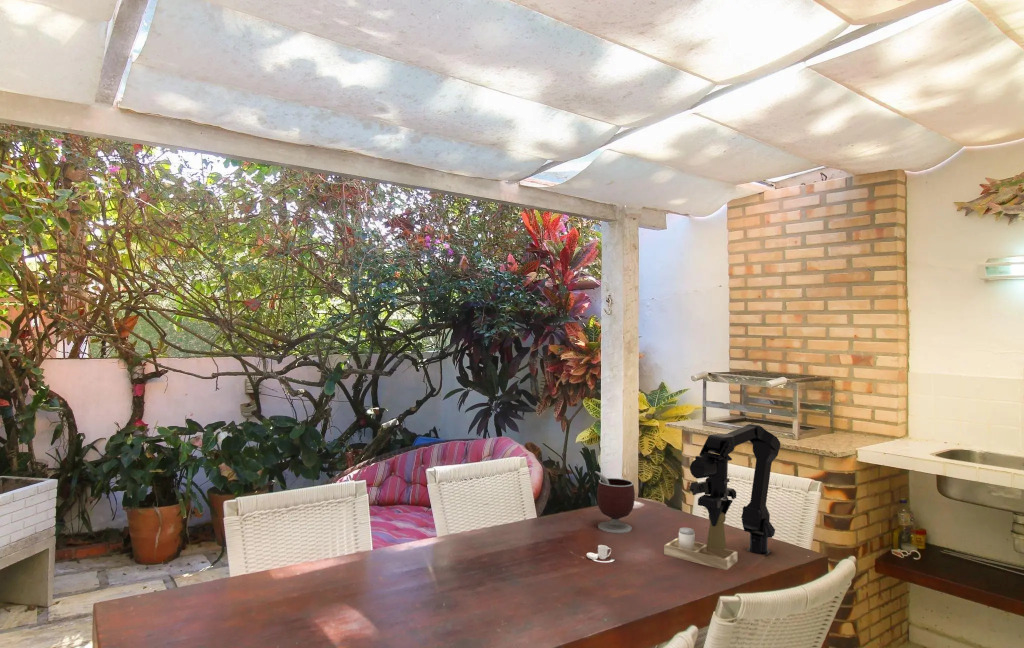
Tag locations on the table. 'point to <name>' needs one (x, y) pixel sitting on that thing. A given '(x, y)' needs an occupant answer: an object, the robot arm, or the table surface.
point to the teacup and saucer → (600, 554)
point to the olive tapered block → (717, 534)
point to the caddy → (703, 554)
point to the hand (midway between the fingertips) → (716, 524)
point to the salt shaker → (686, 539)
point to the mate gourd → (615, 502)
